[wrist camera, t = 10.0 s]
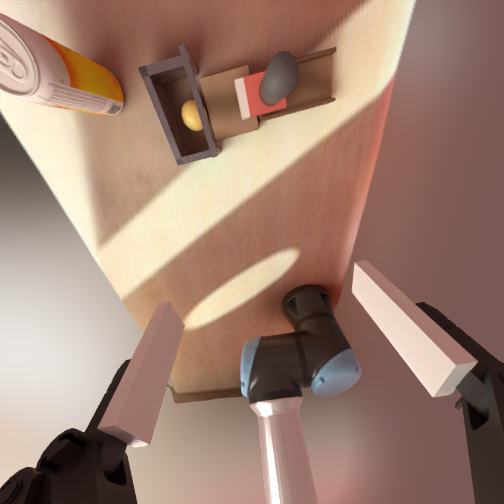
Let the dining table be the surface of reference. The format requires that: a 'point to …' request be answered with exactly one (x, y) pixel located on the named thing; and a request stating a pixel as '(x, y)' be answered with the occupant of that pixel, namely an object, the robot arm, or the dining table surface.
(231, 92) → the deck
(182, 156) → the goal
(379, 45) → the dining table surface
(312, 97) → the rail
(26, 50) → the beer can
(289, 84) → the post on red base
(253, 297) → the dining table surface
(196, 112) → the ball
